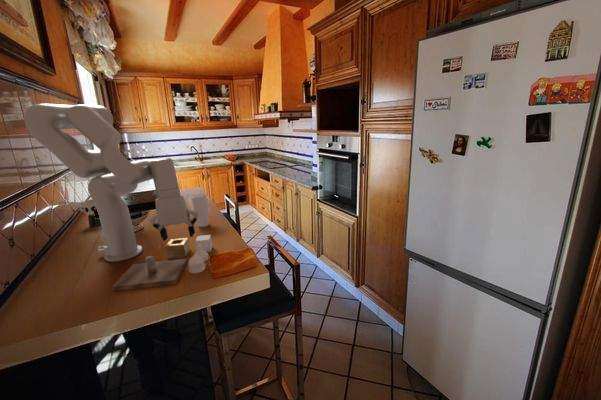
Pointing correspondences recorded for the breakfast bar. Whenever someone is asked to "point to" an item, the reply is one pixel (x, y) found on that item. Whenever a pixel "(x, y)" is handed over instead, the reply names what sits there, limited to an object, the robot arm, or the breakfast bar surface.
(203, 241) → the container set
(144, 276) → the post board
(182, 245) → the brass collar
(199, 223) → the drinking glass
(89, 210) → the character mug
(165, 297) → the breakfast bar surface
